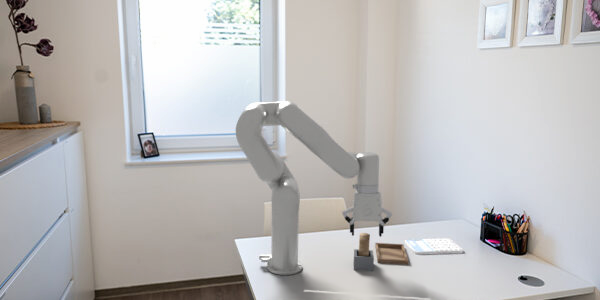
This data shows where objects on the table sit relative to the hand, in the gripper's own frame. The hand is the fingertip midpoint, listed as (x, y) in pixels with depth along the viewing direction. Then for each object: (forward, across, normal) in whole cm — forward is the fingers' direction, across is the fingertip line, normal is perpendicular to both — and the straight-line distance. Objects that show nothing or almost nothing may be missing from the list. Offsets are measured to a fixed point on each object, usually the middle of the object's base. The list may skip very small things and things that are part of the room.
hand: (366, 234), depth 165 cm
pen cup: (+12, -1, 0) cm, 13 cm away
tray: (+13, +10, +12) cm, 20 cm away
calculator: (+14, +28, +24) cm, 39 cm away
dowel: (+12, -1, 0) cm, 12 cm away
